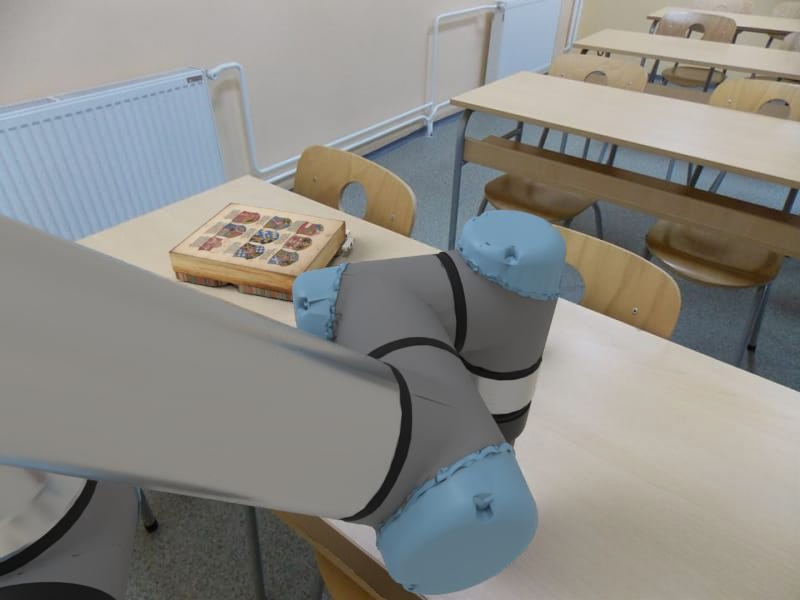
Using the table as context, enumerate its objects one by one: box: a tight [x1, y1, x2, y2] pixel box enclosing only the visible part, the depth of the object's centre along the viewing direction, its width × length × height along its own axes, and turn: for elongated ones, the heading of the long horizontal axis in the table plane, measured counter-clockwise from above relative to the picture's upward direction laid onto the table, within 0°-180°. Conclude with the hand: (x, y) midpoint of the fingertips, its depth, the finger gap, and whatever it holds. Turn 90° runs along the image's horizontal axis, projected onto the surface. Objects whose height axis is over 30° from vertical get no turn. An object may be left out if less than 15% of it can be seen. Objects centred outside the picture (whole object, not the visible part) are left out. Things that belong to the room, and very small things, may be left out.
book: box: [168, 202, 355, 302], centre depth 103 cm, size 25×6×28 cm
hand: (463, 531), depth 58 cm, fingers closed on beverage can, 5 cm apart
